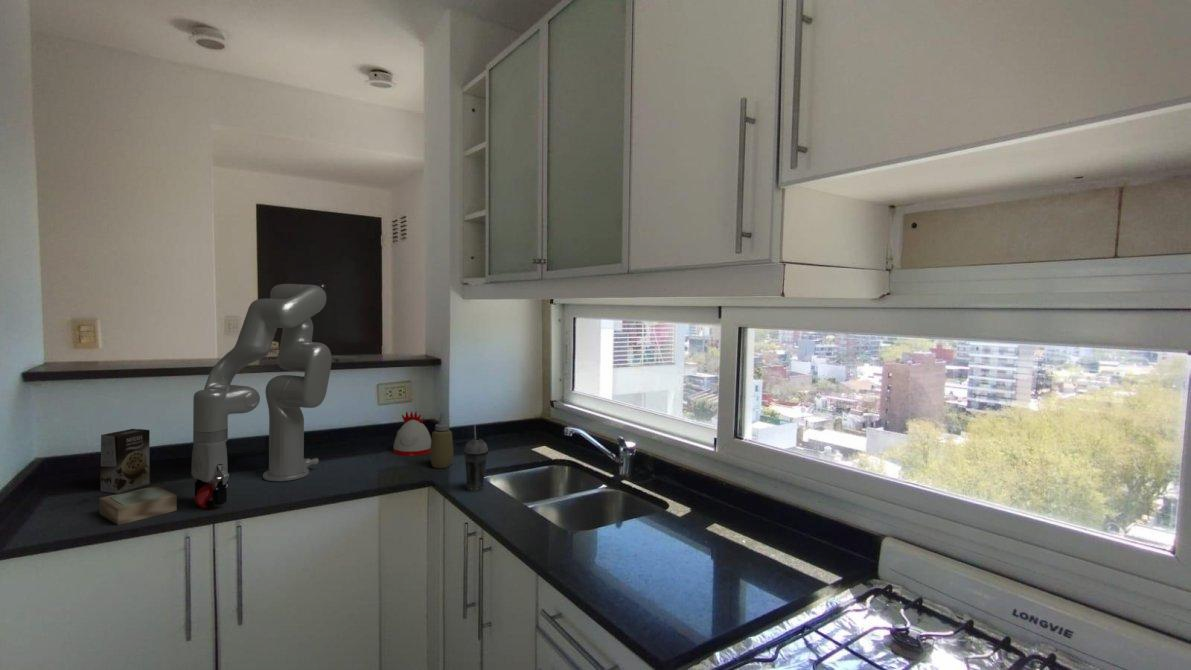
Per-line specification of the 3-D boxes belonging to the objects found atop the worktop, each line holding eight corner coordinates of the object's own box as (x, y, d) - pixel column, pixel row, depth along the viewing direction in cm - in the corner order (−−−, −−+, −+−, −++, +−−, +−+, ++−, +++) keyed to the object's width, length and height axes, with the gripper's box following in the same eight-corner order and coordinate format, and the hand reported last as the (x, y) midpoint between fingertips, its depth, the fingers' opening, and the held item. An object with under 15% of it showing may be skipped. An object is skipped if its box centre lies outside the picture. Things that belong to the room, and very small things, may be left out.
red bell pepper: (234, 492, 149) (227, 476, 152) (212, 491, 143) (205, 474, 146) (216, 514, 149) (209, 498, 152) (193, 514, 144) (186, 497, 147)
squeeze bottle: (423, 467, 187) (425, 415, 186) (439, 461, 195) (440, 411, 194) (443, 471, 184) (444, 417, 183) (458, 465, 192) (459, 413, 191)
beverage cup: (491, 487, 170) (493, 423, 169) (479, 495, 163) (481, 427, 162) (471, 484, 172) (472, 420, 171) (457, 491, 165) (459, 425, 164)
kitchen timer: (398, 446, 214) (399, 407, 213) (435, 446, 215) (435, 408, 215) (389, 455, 200) (389, 414, 199) (428, 456, 202) (429, 415, 201)
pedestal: (156, 500, 149) (156, 485, 149) (176, 510, 143) (176, 494, 143) (99, 513, 139) (99, 497, 139) (117, 525, 133) (117, 508, 132)
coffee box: (118, 494, 153) (117, 436, 152) (99, 491, 154) (99, 434, 153) (150, 483, 162) (150, 429, 161) (133, 481, 163) (132, 427, 162)
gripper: (179, 433, 148) (179, 496, 149) (210, 444, 139) (210, 511, 140) (211, 429, 154) (210, 489, 155) (242, 438, 145) (242, 502, 146)
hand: (210, 499), depth 148 cm, fingers open, 9 cm apart
